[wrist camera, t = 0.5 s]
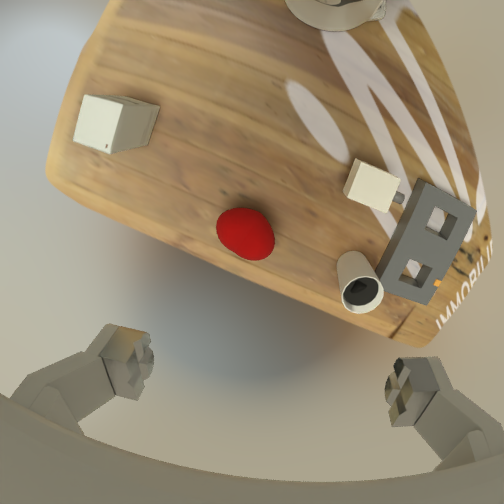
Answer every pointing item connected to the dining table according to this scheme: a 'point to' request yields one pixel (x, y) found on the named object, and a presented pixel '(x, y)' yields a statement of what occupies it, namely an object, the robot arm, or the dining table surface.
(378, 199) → the plug
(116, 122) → the supplement box
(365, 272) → the beige cup
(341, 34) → the dining table surface
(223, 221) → the red rounded egg-shaped part
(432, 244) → the double socket
